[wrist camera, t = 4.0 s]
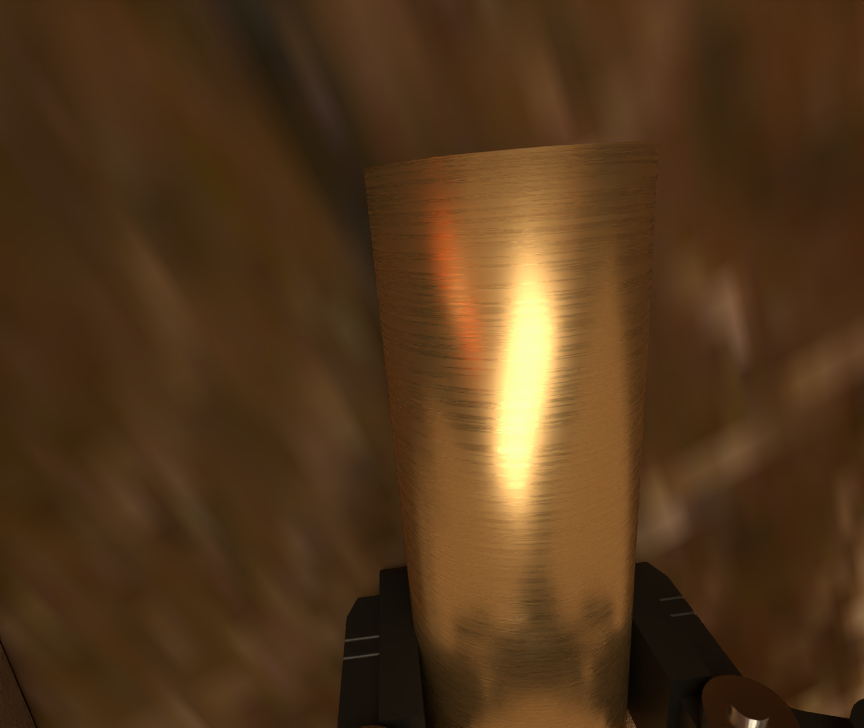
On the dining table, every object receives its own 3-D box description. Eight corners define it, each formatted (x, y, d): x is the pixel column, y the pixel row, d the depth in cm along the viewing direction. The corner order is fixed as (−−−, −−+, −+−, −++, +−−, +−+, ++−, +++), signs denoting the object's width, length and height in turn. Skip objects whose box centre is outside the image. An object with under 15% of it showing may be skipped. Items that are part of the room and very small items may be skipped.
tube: (364, 176, 9) (353, 159, 5) (591, 159, 9) (741, 131, 6) (439, 868, 15) (460, 1104, 11) (578, 845, 15) (646, 1066, 11)
